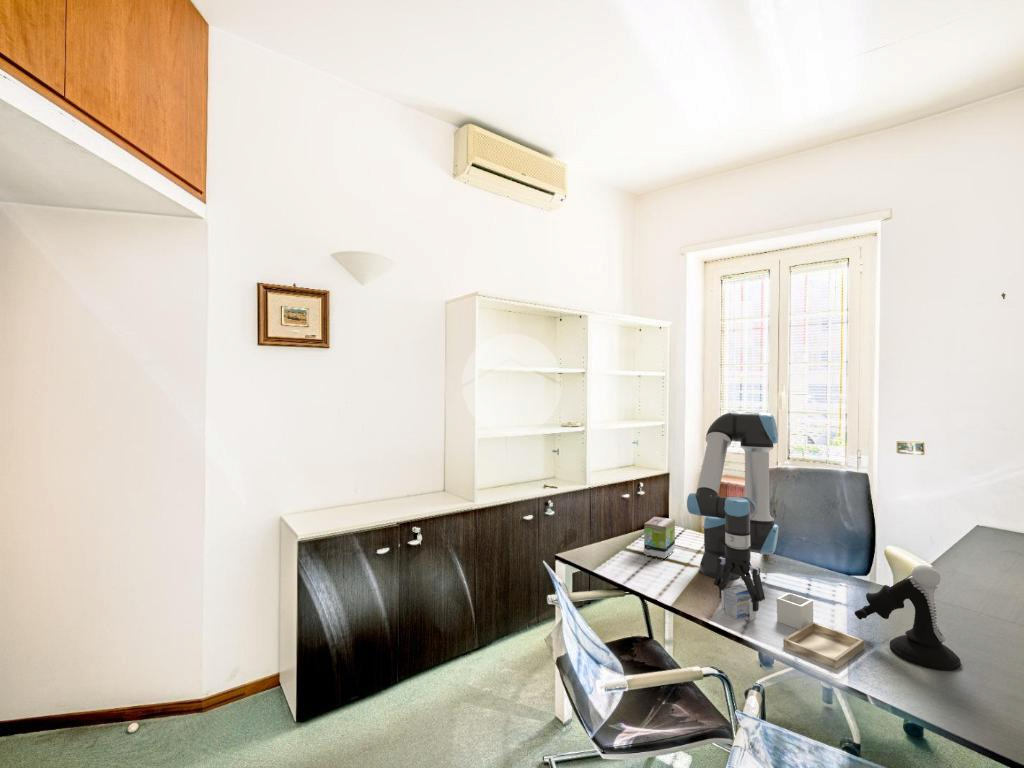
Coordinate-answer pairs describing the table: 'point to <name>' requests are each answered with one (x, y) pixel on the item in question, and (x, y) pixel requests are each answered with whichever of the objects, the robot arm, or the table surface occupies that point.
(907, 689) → the table surface
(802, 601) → the pen cup
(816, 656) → the birch tray
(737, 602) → the medicine box
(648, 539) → the tea box
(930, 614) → the sculpture
